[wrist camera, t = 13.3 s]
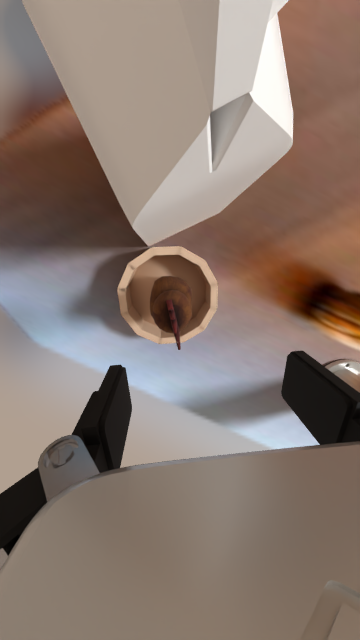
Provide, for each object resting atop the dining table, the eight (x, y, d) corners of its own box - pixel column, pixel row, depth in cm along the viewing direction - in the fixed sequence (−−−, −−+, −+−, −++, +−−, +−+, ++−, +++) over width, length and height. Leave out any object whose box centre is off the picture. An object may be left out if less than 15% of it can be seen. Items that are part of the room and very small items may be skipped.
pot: (209, 328, 35) (216, 340, 30) (130, 333, 34) (125, 346, 30) (211, 245, 30) (219, 244, 25) (118, 248, 29) (111, 248, 25)
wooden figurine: (183, 315, 33) (198, 366, 19) (149, 311, 32) (138, 360, 18) (190, 275, 31) (214, 299, 17) (154, 269, 30) (146, 289, 16)
